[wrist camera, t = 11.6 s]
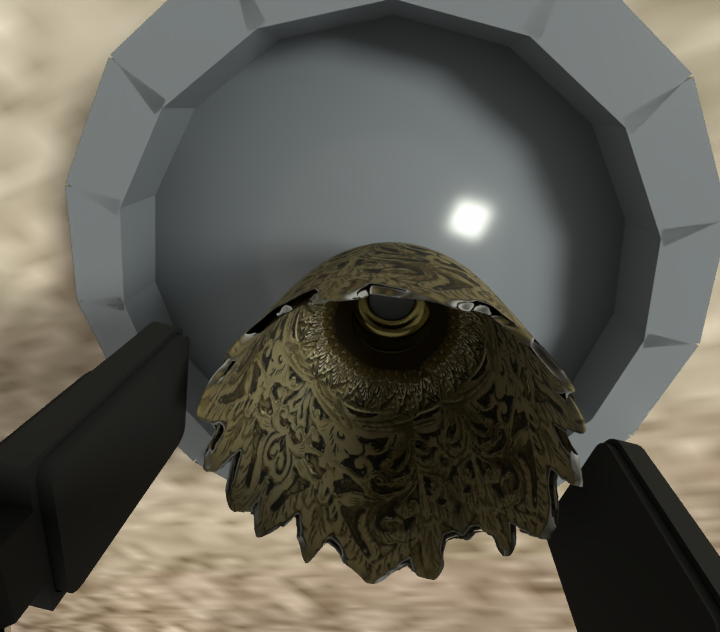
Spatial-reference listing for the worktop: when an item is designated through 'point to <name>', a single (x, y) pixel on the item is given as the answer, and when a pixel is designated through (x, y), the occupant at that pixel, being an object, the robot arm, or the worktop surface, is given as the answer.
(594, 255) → the round dish
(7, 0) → the worktop surface
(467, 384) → the cup
